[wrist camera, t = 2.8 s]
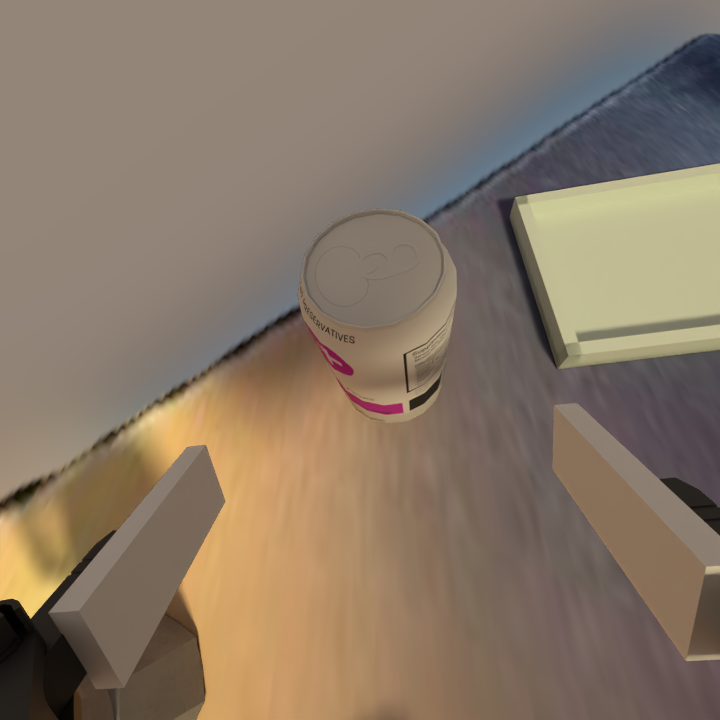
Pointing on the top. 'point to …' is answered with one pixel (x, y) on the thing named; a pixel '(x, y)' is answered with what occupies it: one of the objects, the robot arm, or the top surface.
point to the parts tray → (625, 266)
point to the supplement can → (381, 309)
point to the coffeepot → (154, 682)
